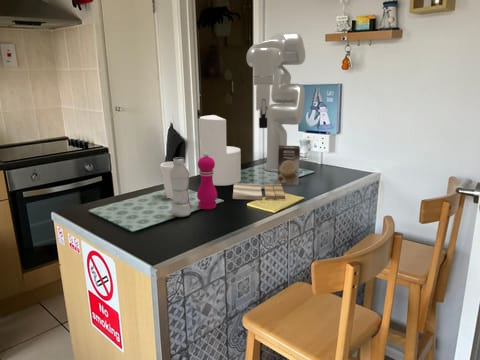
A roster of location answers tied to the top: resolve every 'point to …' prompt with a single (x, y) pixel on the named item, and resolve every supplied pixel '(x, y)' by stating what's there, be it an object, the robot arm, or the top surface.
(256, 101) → the robot arm
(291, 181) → the coffee box
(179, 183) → the plastic bottle
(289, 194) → the top surface
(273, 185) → the oak floorboards
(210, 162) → the pepper mill
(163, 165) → the foam cup
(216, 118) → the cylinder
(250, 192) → the birch plank
